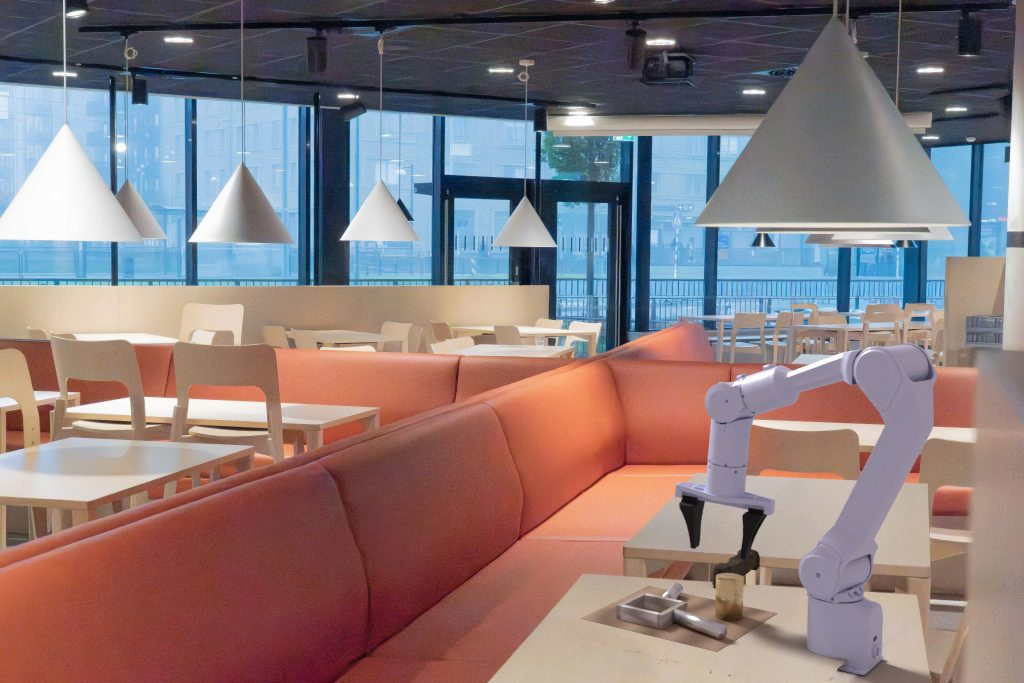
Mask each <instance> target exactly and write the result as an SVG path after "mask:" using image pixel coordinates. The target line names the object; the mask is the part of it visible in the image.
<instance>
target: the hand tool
mask: <svg viewBox="0 0 1024 683" xmlns="http://www.w3.org/2000/svg"><path fill="white" fill-rule="evenodd" d="M760 564H761V556H760V554H759V551H757V550H756V549H753V548H751V550H750V554H749V557H748V558H747V559H746V560H743V559H741V548H740V549H739V550H738V551H737V554H736V555H734V556H732V557H729V559H728V561H727V562H726V563H725V562H719V563H717V565H715V566H713V570H712V587H713V589H716V575H717V574H721V573H733V574H738V575H741V576H743V577H744V576H746V575H748V573H750V572H751V571H757V570H758V569H760V567H761V565H760Z"/></svg>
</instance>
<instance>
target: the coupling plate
mask: <svg viewBox="0 0 1024 683" xmlns="http://www.w3.org/2000/svg"><path fill="white" fill-rule="evenodd" d="M667 590H668V589H666V588H660V587H656V586H655V587H654V586H651V585H648V586H645V587H644V588H641V589H639V590H637V591H635V592H633V593H631V594H628V595H626V596H624V597H622V598H620V599H618V600H616V601H614V602H612V603H610V604H608V605H605V606H603V607H601V608H599V609H597V610H595V611H592V612H590V613H589V614H587V615H584V616H582V617H580V619H581V620H584V621H588V622H593V623H596V624H602V625H604V626H609V627H613V628H616V629H617V628H618V629H621V630H626V631H629V632H634V633H637V634H638V633H639V634H643V635H646V636H650V637H655V638H659V639H662V640H666V641H670V642H675V643H679V644H683V645H688V646H691V647H695V648H700V649H704V650H707V651H712V652H716V653H718V652H719V651H721V650H722V649H724V648H726V647H727V646H728V645H731V644H732V643H734V642H735V641H736V640H738V639H740V638H741V637H743V636H744V635H746V634H747V633H749V632H751V631H752V630H754V629H756V628H757V627H758V626H760V625H762V624H763V623H764V622H766V621H768V620H769V619H771V618H773V617H775V616H776V615H777V614H778V612H776V611H775V612H774V611H769V610H764V609H759V608H757V607H756V608H755V607H750V606H746V605H743V619H742V620H739V621H723V620H720V619H717V618H716V617H715V599H713V598H708V597H703V596H698V595H694V594H688V593H684V592H682V594H681V595H680V596H679V597H678V599H677V600H675V599H670V598H666V597H662V596H663V594H664V593H665V592H666V591H667ZM674 609H679V610H682V611H685V612H688V613H691V614H693V615H696V616H699V617H702V618H705V619H708V620H711V621H713V622H716V623H719V624H722V625H725V626H726V627H727V635H726V637H725V638H724V639H722V640H720V639H718V638H715V637H712V636H709V635H707V634H704V633H701V632H699V631H696V630H693V629H690V628H688V627H685V626H682V625H679V624H677V623H674V622H672V619H671V616H672V612H673V610H674Z"/></svg>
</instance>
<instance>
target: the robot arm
mask: <svg viewBox="0 0 1024 683" xmlns="http://www.w3.org/2000/svg"><path fill="white" fill-rule="evenodd" d="M762 369H763V370H762V371H758V372H755V373H752V374H749V375H747V374H746V373H743V374H739V375H737V376H736V380H735V381H729V382H725V381H719V382H717V383H715V384H713V385H712V386H711V387H709V389H708V390H707V391H706V393H705V398H704V407H705V411H706V413H707V415H708V416H709V417H710V428H709V430H710V431H709V441H708V442H709V444H708V453H707V462H706V463H707V466H706V477H705V484H701V483H690V482H683V481H679V482H678V483H676V484H675V492H674V493H675V495H674V498H679V499H680V498H681V501H680V502H679V503H678V508H679V510H680V512H681V514H682V517H683V519H684V522H685V525H686V528H687V532H688V538H689V539H688V540H689V545H690V546H689V547H690V549H697V548H698V547H699V546H700V542H701V534H702V530H701V529H702V519H703V513H704V508H705V504H706V503H705V502H707V503H711V504H717V505H723V506H727V507H733V508H738V509H743V510H747V511H746V512H744V513H742V517H741V518H742V539H741V547H740V549H741V559H743V560H746V559H747V558H748V557H749V554H750V550H751V549H752V546H753V544H754V541H755V539H756V536H757V534H758V533H759V530H760V528H761V527H762V525H763V523H764V521H765V520H766V518H767V516H772V515H773V514H774V513H775V508H776V506H775V505H776V499H773V498H769V497H765V496H762V495H758V494H755V493H751V492H749V491H746V484H747V482H746V481H747V473H748V472H747V471H748V463H749V462H748V461H749V449H750V440H751V439H750V437H751V429H753V421H754V419H755V417H757V416H758V415H761V414H765V413H768V412H771V411H774V410H779V409H782V408H786V407H789V406H792V405H794V404H796V402H797V400H798V399H799V397H800V394H802V392H807V391H810V390H813V389H814V390H815V389H818V388H821V387H824V386H829V385H832V384H836V383H839V382H843V381H844V382H845V383H846V384H848V385H849V386H858V387H859V389H860V390H861V391H862V393H863V394H864V395H865V396H866V398H867V399H868V400H869V401H870V403H871V404H872V405H873V407H875V409H876V410H877V411H878V412H879V415H880V417H881V419H882V420H883V423H884V427H883V429H882V431H881V433H880V435H879V438H878V439H877V441H876V443H875V444H874V447H873V448H872V450H871V452H870V454H869V456H868V458H867V460H866V462H865V465H864V467H863V468H862V471H861V472H860V474H859V476H858V478H857V480H856V483H855V484H854V486H853V488H852V490H851V492H850V494H849V496H848V498H847V500H846V502H845V504H844V505H843V508H842V509H841V512H840V513H839V515H838V517H837V520H836V521H835V523H834V525H833V526H832V527H831V528H830V529H829V530H828V531H826V533H825V534H823V535H822V536H821V537H820V538H819V540H818V541H817V543H816V546H815V547H814V548H813V549H812V550H811V551H809V552H807V553H806V554H805V555H803V557H802V558H801V560H800V561H799V563H798V564H799V565H798V576H799V581H800V582H801V585H802V587H803V588H804V589H805V591H806V596H807V614H806V616H807V618H806V619H807V620H806V621H807V623H806V648H807V649H808V650H809V651H810V652H812V653H814V654H816V655H819V656H823V657H827V658H835V659H841V660H845V662H843V663H842V664H841V665H840V666H839V667H837V670H839V671H842V672H843V671H844V672H847V673H852V674H856V675H860V676H864V675H866V674H868V672H870V671H871V670H872V669H874V668H875V666H876V665H878V664H879V663H880V662H881V661H882V660H883V659H884V655H883V654H882V652H883V629H884V628H883V624H884V623H883V621H884V620H883V618H884V617H883V616H884V615H883V614H884V613H883V608H882V605H881V603H879V602H876V601H874V600H870V599H868V598H866V597H865V596H864V595H865V584H866V583H867V582H868V581H869V579H870V578H872V576H873V573H874V558H875V555H876V552H877V551H878V548H879V546H878V543H877V542H876V540H875V538H876V536H877V534H878V533H879V531H880V530H881V527H882V525H883V523H884V522H885V520H886V518H887V516H888V514H889V512H890V510H891V508H892V506H893V504H894V503H895V501H896V498H897V497H898V495H899V493H900V492H901V489H902V488H903V486H904V483H905V482H906V481H907V478H908V476H909V475H910V473H911V470H912V469H913V467H914V466H915V463H916V461H917V459H918V457H919V456H920V454H921V452H922V450H923V448H924V446H925V444H926V443H927V441H928V438H929V437H930V435H931V433H932V430H933V427H934V423H935V421H934V420H935V416H934V414H935V412H934V410H935V409H934V386H935V384H936V380H937V378H938V373H937V370H936V368H935V366H934V364H933V362H932V360H931V358H930V355H929V354H928V352H927V351H926V350H925V349H924V348H923V347H921V346H919V345H917V344H915V343H910V342H904V343H901V344H897V345H888V346H879V345H878V346H874V345H873V346H870V347H867V348H865V349H863V348H862V349H855V350H849V351H843V352H841V353H838V354H835V355H832V356H829V357H827V358H824V359H821V360H819V361H816V362H812V363H810V364H807V365H805V366H802V367H799V368H796V369H795V370H793V369H791V368H789V367H787V366H784V365H781V364H780V365H776V363H769V364H766V365H763V366H762Z"/></svg>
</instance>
